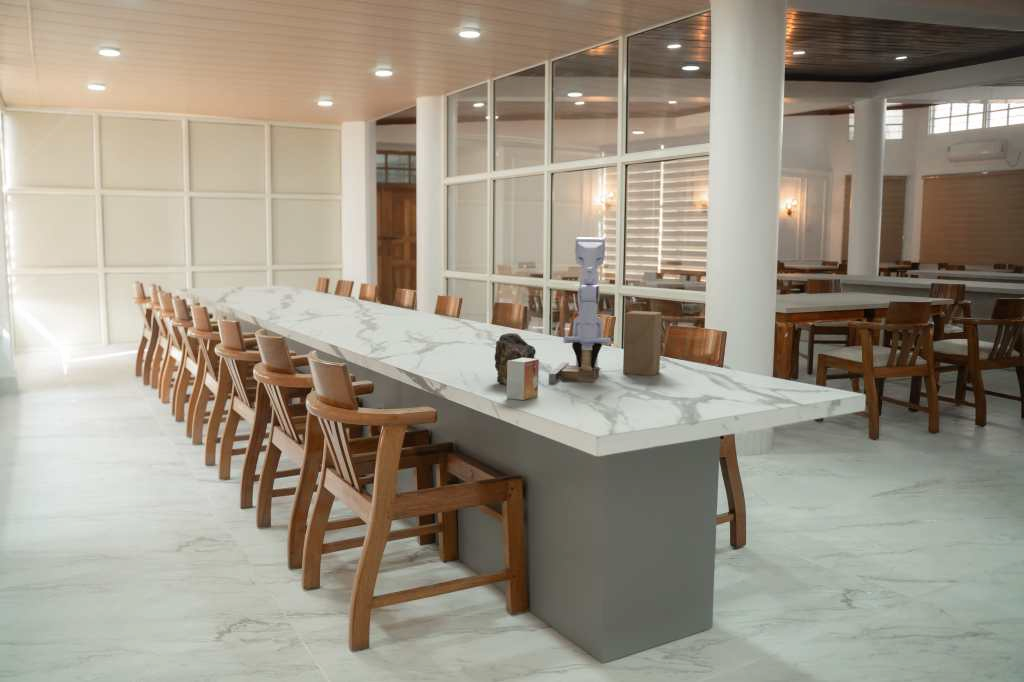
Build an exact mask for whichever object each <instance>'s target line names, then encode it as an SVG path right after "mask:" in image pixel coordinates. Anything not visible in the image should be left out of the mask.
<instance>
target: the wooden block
mask: <svg viewBox="0 0 1024 682" xmlns="http://www.w3.org/2000/svg"><path fill="white" fill-rule="evenodd" d="M662 314H663V313H662V312H660V311H645V310H631V311H629V312H626V313H625V314H624V334H623V336H624V337H623V359H622V360H623V361H622V362H623V363H622V365H623V366H622V373H623V375H632V376H633V375H634V376H647V377H653V376H655V375H657V374H659V373H660V367H661V366H660V365H661V346H662V345H661V344H662V343H661V341H662V340H661V338H662V337H661V336H662V318H663V317H662V316H663V315H662Z"/></svg>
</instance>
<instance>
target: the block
mask: <svg viewBox="0 0 1024 682" xmlns="http://www.w3.org/2000/svg"><path fill="white" fill-rule="evenodd" d="M599 367H600V366H597V367H594V368H592V371H589V370H581V367H578V366H576V365H570V364H569V365H568V366H567V367H566V368H564V369H563V370H562V375H561V379H560V381H564V382H579V383H581V382H582V383H595V381H596V379H598V378H599V377H600V374H599V373H600V369H599Z"/></svg>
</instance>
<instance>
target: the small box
mask: <svg viewBox="0 0 1024 682" xmlns="http://www.w3.org/2000/svg"><path fill="white" fill-rule="evenodd" d="M539 360H540V359H538V358H534V359H532V358H519V359H515V360H508V361H507V386H506V398H507V399H509V400H511V399H512V400H519V401H525V400H529V399H532V398H537V397H538V396H539V372H540V371H539V369H540V366H539V365H540V363H539V362H540V361H539Z"/></svg>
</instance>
